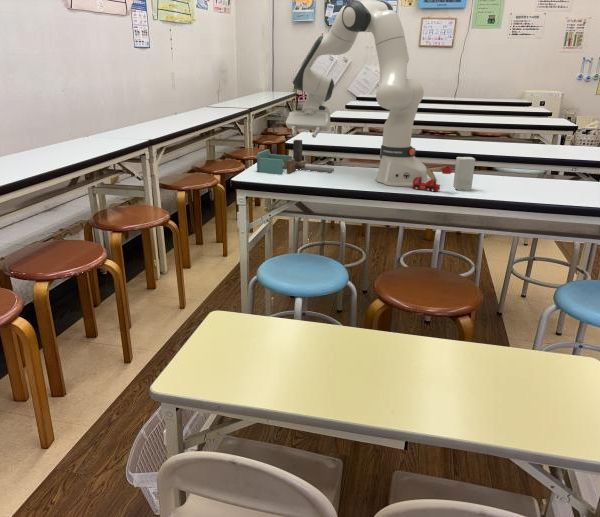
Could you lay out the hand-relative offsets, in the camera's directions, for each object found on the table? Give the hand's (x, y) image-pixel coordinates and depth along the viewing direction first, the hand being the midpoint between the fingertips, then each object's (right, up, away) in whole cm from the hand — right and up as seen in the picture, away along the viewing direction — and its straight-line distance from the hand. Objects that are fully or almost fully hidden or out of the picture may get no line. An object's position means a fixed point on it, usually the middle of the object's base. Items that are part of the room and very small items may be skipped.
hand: (303, 136), depth 226 cm
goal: (-13, -16, -6) cm, 22 cm away
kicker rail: (+4, -16, -4) cm, 17 cm away
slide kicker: (-4, -16, -5) cm, 18 cm away
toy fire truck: (+48, -29, -35) cm, 66 cm away
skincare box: (+60, -28, -32) cm, 74 cm away
